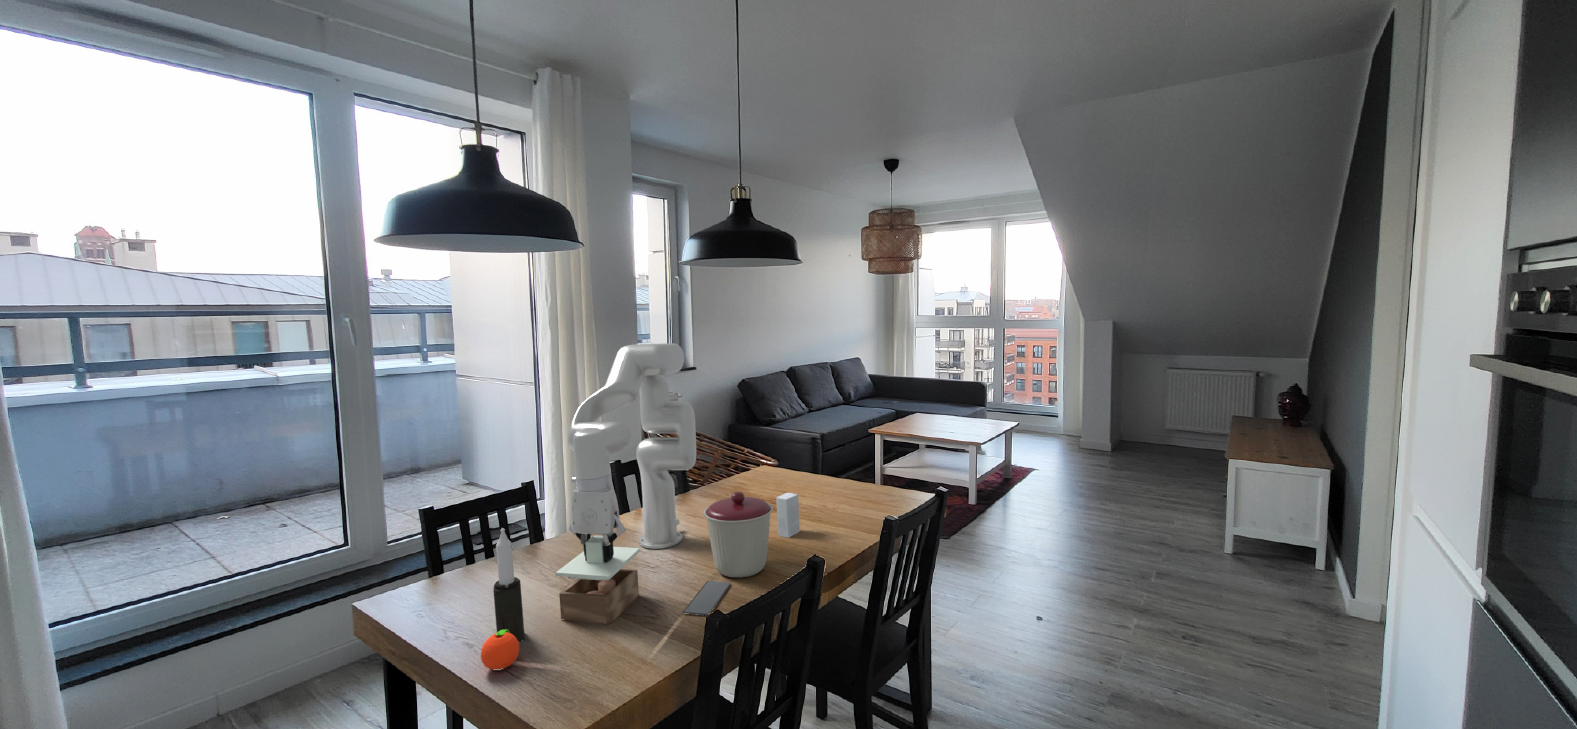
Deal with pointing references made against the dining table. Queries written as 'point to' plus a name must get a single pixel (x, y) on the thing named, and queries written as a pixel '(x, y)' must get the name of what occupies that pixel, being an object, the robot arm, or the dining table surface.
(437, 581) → the dining table surface
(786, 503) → the skincare box
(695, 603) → the trivet
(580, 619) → the box
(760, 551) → the canister
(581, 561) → the lid
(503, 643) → the clementine
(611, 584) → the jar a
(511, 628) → the candle
